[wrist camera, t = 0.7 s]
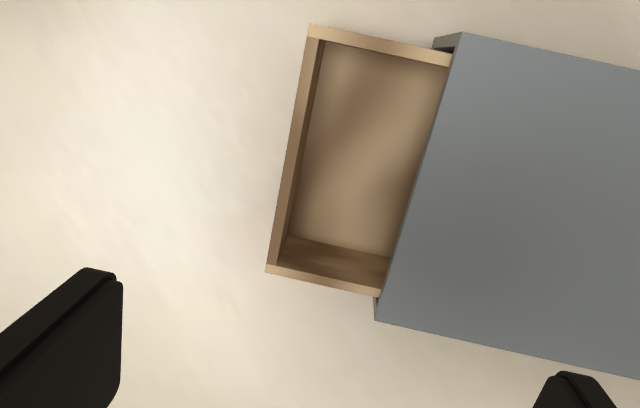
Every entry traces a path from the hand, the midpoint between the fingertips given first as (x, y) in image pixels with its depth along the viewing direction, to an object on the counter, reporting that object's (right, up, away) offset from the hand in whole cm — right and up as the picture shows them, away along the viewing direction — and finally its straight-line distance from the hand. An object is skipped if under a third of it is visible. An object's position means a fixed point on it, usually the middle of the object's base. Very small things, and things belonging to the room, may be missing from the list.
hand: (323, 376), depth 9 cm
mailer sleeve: (+15, +4, +19) cm, 25 cm away
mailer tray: (+8, +6, +18) cm, 21 cm away
